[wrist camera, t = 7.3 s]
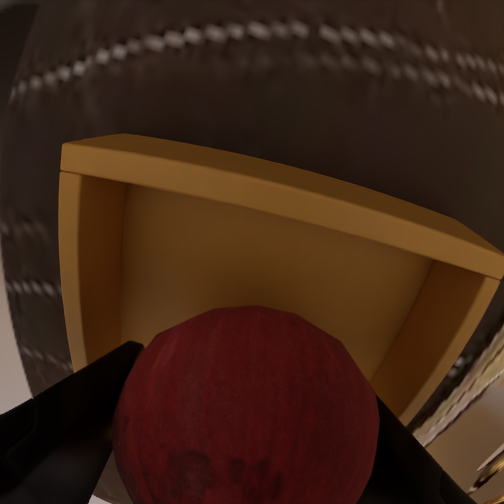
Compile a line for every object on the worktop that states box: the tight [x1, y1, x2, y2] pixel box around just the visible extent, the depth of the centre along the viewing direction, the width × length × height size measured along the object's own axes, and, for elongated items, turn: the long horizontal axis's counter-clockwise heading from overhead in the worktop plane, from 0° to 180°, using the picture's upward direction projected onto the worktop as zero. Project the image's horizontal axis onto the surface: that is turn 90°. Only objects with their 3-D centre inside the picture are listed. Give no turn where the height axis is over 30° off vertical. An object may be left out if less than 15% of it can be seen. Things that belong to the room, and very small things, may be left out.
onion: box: [112, 305, 380, 504], centre depth 6 cm, size 6×6×8 cm
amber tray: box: [59, 133, 504, 427], centre depth 9 cm, size 10×10×3 cm
